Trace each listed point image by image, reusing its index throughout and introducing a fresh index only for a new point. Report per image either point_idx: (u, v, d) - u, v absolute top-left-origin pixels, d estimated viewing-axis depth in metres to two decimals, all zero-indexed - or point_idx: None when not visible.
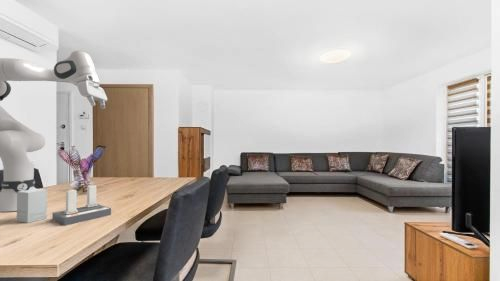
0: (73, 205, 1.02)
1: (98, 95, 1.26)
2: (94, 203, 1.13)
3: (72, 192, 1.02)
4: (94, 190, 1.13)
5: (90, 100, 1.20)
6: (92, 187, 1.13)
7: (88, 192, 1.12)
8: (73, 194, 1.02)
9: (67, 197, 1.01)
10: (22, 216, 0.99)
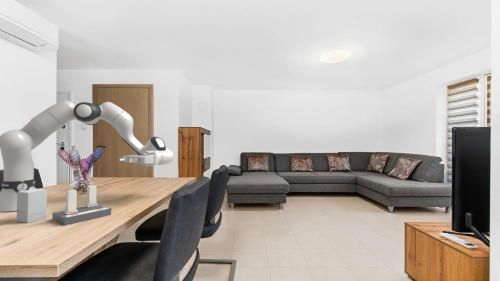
0: (73, 205, 1.02)
1: (134, 162, 1.31)
2: (94, 203, 1.13)
3: (72, 192, 1.02)
4: (94, 190, 1.13)
5: (134, 159, 1.25)
6: (92, 187, 1.13)
7: (88, 192, 1.12)
8: (73, 194, 1.02)
9: (67, 197, 1.01)
10: (22, 216, 0.99)
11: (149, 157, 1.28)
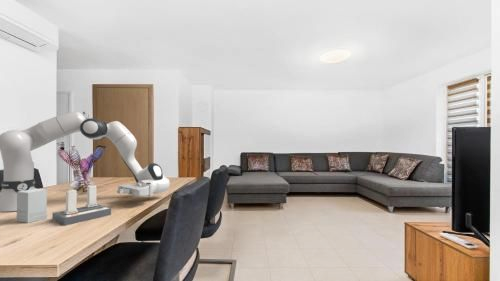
0: (73, 205, 1.02)
1: None
2: (94, 203, 1.13)
3: (72, 192, 1.02)
4: (94, 190, 1.13)
5: (125, 191, 1.25)
6: (92, 187, 1.13)
7: (88, 192, 1.12)
8: (73, 194, 1.02)
9: (67, 197, 1.01)
10: (22, 216, 0.99)
11: (144, 189, 1.25)
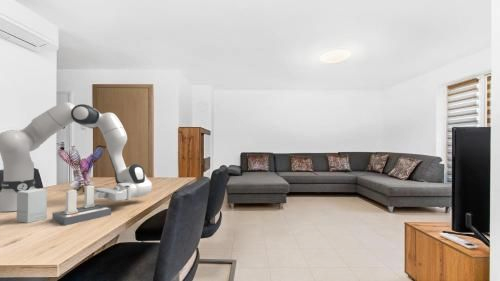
0: (73, 205, 1.02)
1: None
2: (92, 203, 1.12)
3: (72, 192, 1.02)
4: (92, 190, 1.12)
5: (100, 195, 1.15)
6: (90, 187, 1.12)
7: (85, 192, 1.11)
8: (73, 194, 1.02)
9: (67, 197, 1.01)
10: (22, 216, 0.99)
11: (121, 193, 1.15)
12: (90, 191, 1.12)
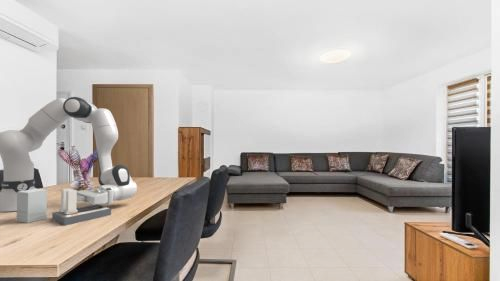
0: (73, 205, 1.02)
1: None
2: None
3: (72, 192, 1.02)
4: None
5: (79, 198, 1.07)
6: (67, 190, 1.04)
7: (62, 196, 1.04)
8: (73, 194, 1.02)
9: (67, 197, 1.01)
10: (22, 216, 0.99)
11: (101, 196, 1.08)
12: None
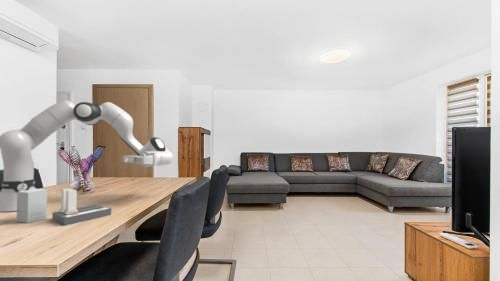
0: (73, 205, 1.02)
1: (133, 162, 1.31)
2: None
3: (72, 192, 1.02)
4: None
5: (130, 159, 1.27)
6: (67, 190, 1.04)
7: (62, 196, 1.04)
8: (73, 194, 1.02)
9: (67, 197, 1.01)
10: (22, 216, 0.99)
11: (148, 158, 1.27)
12: None
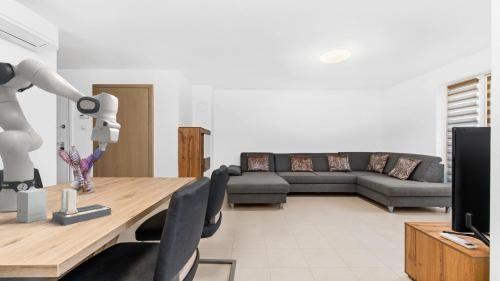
0: (73, 205, 1.02)
1: None
2: None
3: (72, 192, 1.02)
4: None
5: (104, 145, 1.22)
6: (67, 190, 1.04)
7: (62, 196, 1.04)
8: (73, 194, 1.02)
9: (67, 197, 1.01)
10: (22, 216, 0.99)
11: (112, 134, 1.18)
12: None
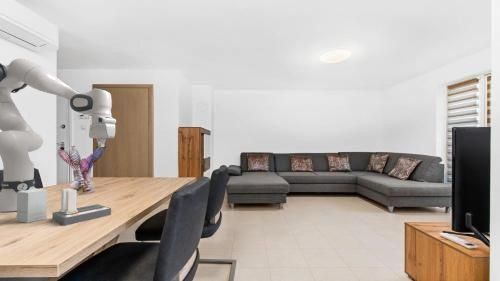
0: (73, 205, 1.02)
1: None
2: None
3: (72, 192, 1.02)
4: None
5: (102, 142, 1.22)
6: (67, 190, 1.04)
7: (62, 196, 1.04)
8: (73, 194, 1.02)
9: (67, 197, 1.01)
10: (22, 216, 0.99)
11: (108, 130, 1.17)
12: None
